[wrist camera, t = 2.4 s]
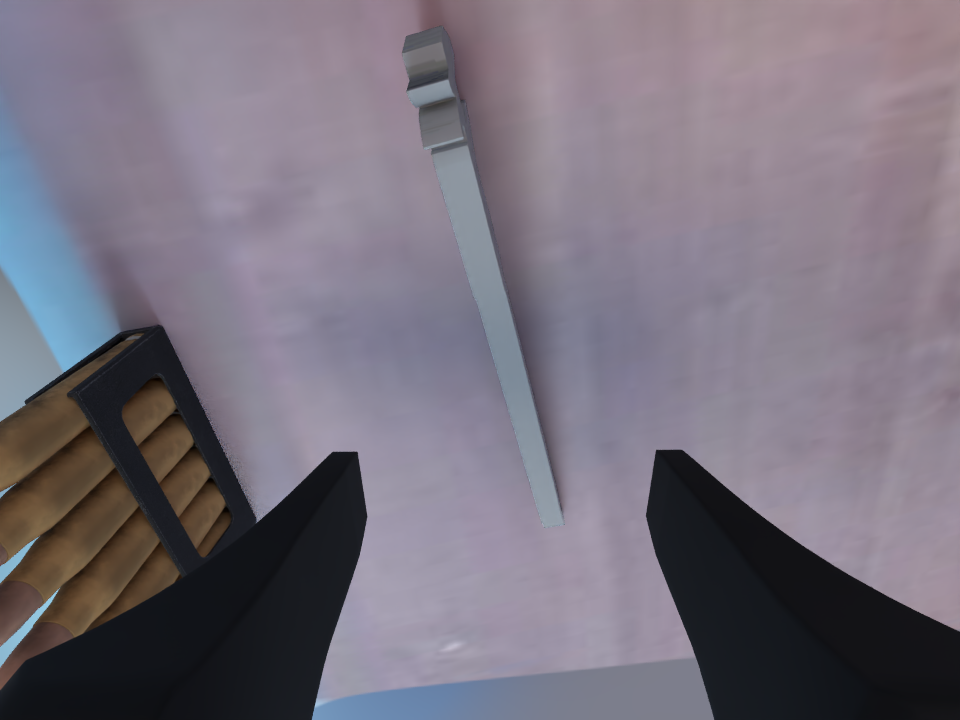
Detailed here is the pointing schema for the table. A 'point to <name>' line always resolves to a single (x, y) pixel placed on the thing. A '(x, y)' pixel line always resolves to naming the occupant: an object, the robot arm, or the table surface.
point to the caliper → (478, 245)
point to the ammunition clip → (109, 492)
